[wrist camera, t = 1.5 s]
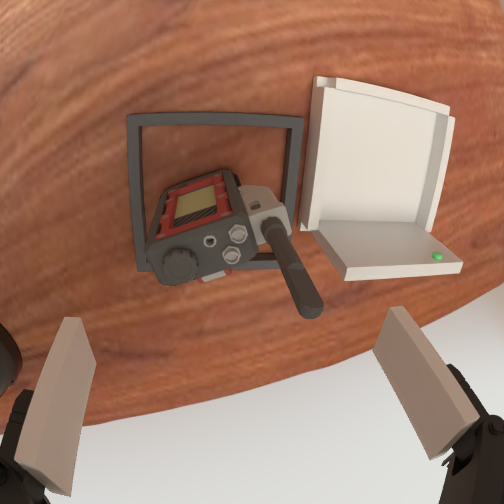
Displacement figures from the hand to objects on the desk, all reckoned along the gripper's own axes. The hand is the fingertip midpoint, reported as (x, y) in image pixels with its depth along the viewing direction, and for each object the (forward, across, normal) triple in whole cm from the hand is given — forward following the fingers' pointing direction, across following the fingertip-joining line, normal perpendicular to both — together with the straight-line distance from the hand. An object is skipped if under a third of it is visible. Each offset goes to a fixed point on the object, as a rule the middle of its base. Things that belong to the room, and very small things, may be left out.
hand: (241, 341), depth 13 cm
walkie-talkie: (+20, 0, 0) cm, 20 cm away
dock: (+19, +16, +4) cm, 25 cm away
